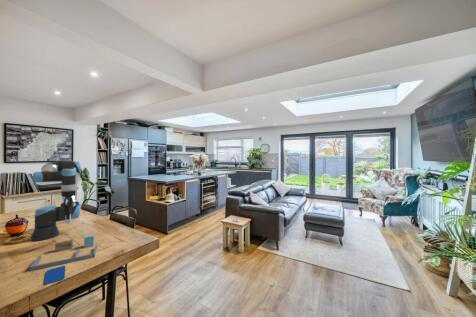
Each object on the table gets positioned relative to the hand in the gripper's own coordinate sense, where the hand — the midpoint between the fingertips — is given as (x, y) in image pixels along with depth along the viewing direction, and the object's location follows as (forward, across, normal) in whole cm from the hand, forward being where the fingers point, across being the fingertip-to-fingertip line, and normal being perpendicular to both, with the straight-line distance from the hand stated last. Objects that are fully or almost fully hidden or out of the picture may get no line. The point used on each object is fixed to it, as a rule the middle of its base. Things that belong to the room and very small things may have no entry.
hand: (68, 223), depth 132 cm
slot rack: (+14, +26, +4) cm, 30 cm away
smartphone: (+15, +45, +4) cm, 48 cm away
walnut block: (+15, +10, 0) cm, 18 cm away
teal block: (+14, +12, +14) cm, 23 cm away
